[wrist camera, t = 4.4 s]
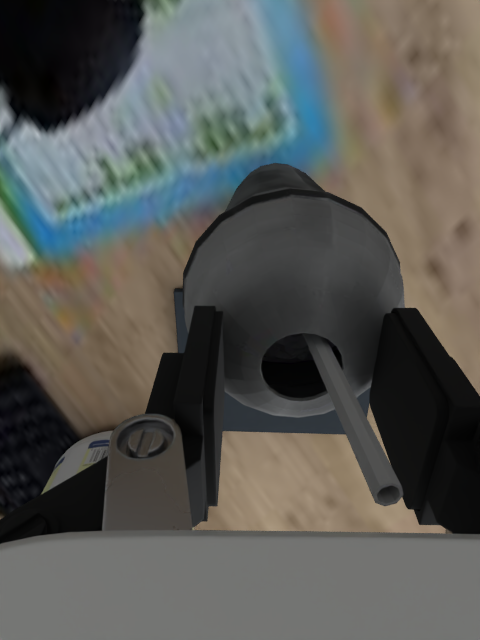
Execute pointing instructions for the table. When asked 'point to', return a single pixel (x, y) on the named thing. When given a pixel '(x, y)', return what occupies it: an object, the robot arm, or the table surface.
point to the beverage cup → (300, 304)
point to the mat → (258, 421)
